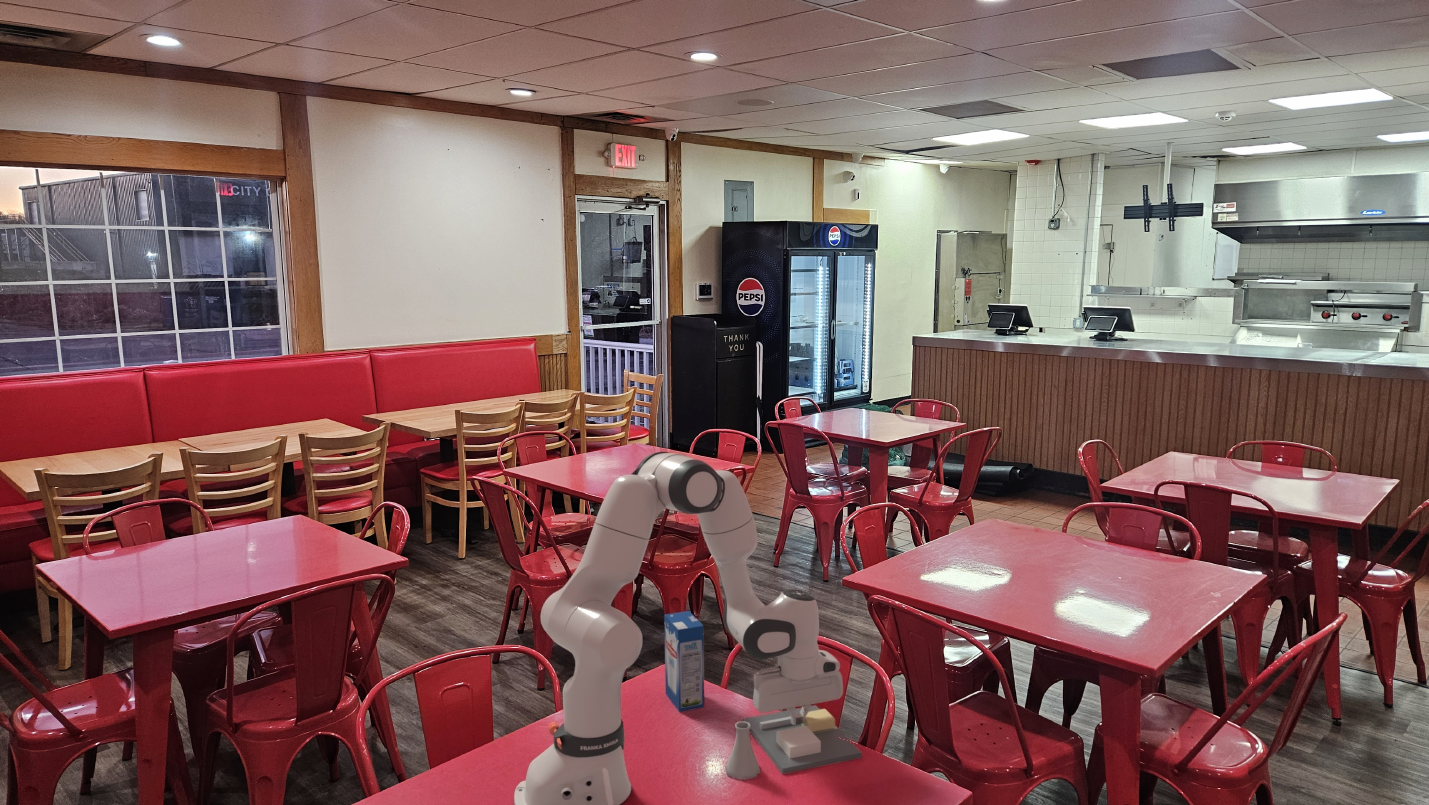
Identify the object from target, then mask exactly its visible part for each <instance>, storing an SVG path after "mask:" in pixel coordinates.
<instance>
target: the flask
mask: <svg viewBox="0 0 1429 805" xmlns="http://www.w3.org/2000/svg"><path fill="white" fill-rule="evenodd" d="M734 727H735V730H736V732H735V733H736V734H735V740H734V744H733V747H732V749H731V752H730V755H729V757H728V760H727V763H726V765H725V771H726V776H728V777H732V778H733V779H737V780H749V779H755V778H756V777H757V776H758V775H759V774H760V773H761V772H762V771H761V769H760V768H761V767H760V766H759V762H758V759H757V756H756V754H755V752H754V748H753V746H752V742H751V736H750V732H749V729H750V728H751V726H750V723H748V722H745V721H743V720H742V721H737V722H735V724H734Z"/></svg>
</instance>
